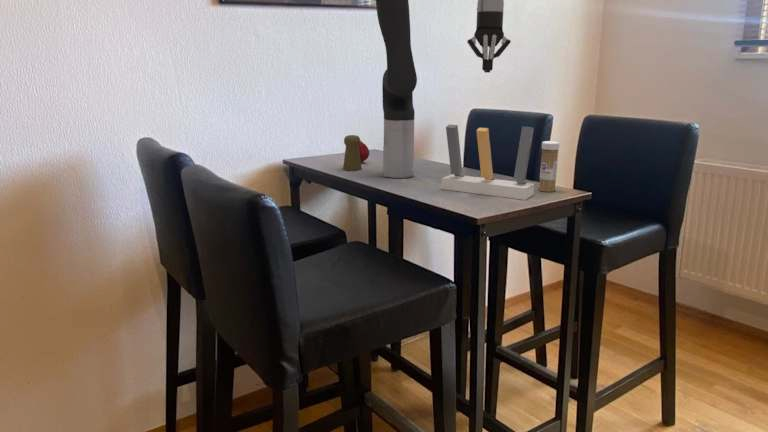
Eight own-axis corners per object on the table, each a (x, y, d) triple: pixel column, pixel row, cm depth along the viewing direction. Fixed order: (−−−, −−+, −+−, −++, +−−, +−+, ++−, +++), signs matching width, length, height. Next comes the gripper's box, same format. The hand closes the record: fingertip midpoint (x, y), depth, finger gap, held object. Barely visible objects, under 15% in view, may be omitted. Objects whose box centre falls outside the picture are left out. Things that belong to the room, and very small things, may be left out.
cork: (359, 171, 190) (359, 136, 187) (340, 170, 191) (340, 136, 189) (363, 167, 196) (363, 134, 193) (345, 167, 197) (345, 133, 194)
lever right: (512, 182, 157) (522, 126, 157) (515, 183, 158) (524, 127, 158) (522, 183, 155) (531, 126, 155) (524, 184, 157) (533, 128, 157)
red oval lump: (372, 162, 205) (372, 139, 203) (363, 165, 200) (362, 141, 198) (358, 161, 208) (358, 138, 206) (348, 163, 203) (348, 140, 201)
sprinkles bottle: (535, 190, 164) (539, 141, 161) (543, 187, 167) (546, 140, 164) (551, 193, 161) (555, 143, 158) (558, 190, 165) (562, 141, 161)
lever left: (451, 177, 166) (445, 127, 159) (454, 173, 168) (448, 124, 160) (459, 178, 165) (454, 128, 157) (462, 174, 166) (457, 125, 159)
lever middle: (481, 180, 162) (476, 130, 154) (484, 177, 163) (479, 127, 155) (490, 181, 160) (485, 131, 152) (493, 178, 162) (488, 128, 154)
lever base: (440, 189, 166) (441, 177, 165) (451, 184, 171) (452, 173, 170) (524, 199, 153) (525, 187, 153) (533, 194, 159) (534, 182, 158)
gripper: (468, 9, 169) (466, 72, 173) (515, 9, 169) (511, 72, 173) (465, 11, 176) (463, 72, 181) (510, 11, 176) (507, 72, 180)
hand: (487, 72), depth 177 cm, fingers closed
